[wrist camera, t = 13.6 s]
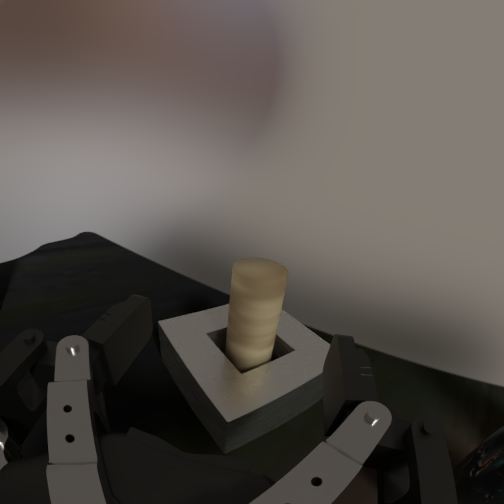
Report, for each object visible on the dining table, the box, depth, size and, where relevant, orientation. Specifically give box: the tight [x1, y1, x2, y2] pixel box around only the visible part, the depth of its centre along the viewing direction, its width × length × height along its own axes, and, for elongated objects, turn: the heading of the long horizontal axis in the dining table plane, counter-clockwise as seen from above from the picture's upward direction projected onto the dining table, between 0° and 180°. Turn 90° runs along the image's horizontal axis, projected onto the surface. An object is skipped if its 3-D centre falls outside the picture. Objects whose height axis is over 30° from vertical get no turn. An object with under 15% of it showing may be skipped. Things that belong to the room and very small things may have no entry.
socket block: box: [158, 304, 330, 454], centre depth 24 cm, size 12×12×5 cm
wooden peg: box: [225, 258, 288, 374], centre depth 22 cm, size 4×4×12 cm
